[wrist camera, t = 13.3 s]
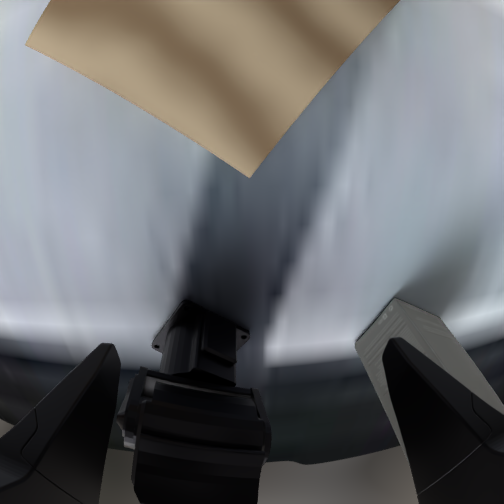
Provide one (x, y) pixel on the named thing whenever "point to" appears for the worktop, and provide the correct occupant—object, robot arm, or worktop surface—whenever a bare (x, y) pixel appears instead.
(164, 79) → the oak board
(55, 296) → the worktop surface
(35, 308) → the worktop surface
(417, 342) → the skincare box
